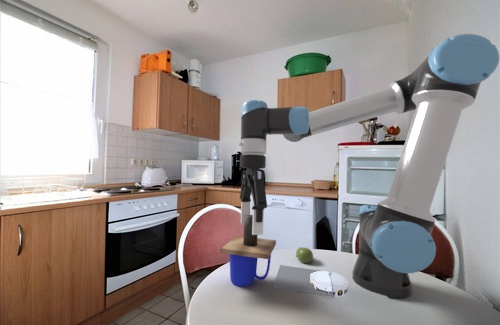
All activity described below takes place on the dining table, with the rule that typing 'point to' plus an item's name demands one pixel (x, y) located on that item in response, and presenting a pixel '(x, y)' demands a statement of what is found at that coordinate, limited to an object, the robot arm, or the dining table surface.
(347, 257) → the dining table surface
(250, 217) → the lid
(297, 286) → the mat
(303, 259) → the pear
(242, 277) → the mug
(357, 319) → the dining table surface
